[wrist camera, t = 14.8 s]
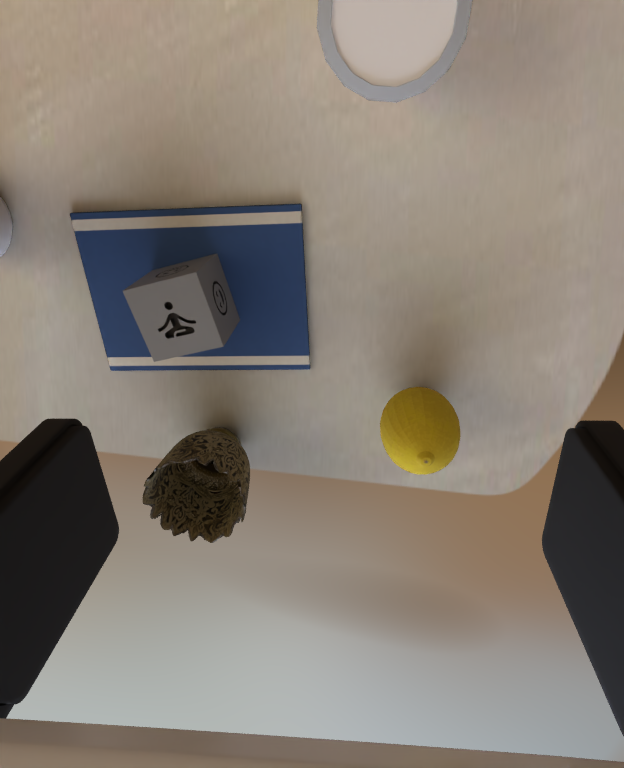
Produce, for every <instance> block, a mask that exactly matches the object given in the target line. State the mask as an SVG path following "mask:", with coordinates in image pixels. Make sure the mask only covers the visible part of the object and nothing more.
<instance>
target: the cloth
mask: <svg viewBox="0 0 624 768" xmlns="http://www.w3.org/2000/svg"><path fill="white" fill-rule="evenodd" d="M70 217H71V221H72V225H73V229H74V232H75V236H76V240H77V244H78V247H79V251H80V255H81V259H82V263H83V267H84V270H85V274H86V278H87V282H88V286H89V289H90V293H91V297H92V301H93V305H94V309H95V312H96V316H97V320H98V324H99V328H100V331H101V335H102V339H103V343H104V347H105V351H106V354H107V358H108V362H109V366H110V370H111V371H130V370H288V369H310V352H309V334H308V315H307V297H306V279H305V260H304V242H303V224H302V205H301V204H280V205H254V206H229V207H204V208H178V209H153V210H128V211H102V212H77V213H70ZM213 254H218V257H219V260H220V263H221V266H222V269H223V272H224V275H225V278H226V280H227V283H228V286H229V289H230V292H231V295H232V298H233V301H234V304H235V306H236V309H237V312H238V315H239V318H240V321H239V323H238V324H237V326H236V327H235V329H234V331H233V332H232V334H231V335H230V337H229V339H228V340H227V342H226V344H225V345H224V347H220V348H215V349H210V350H206V351H201V352H197V353H192V354H188V355H183V356H179V357H174V358H170V359H165V360H161V361H156V362H154V361H153V358H152V356H151V354H150V352H149V349H148V347H147V345H146V343H145V340H144V338H143V336H142V334H141V332H140V329H139V327H138V325H137V323H136V320H135V318H134V316H133V314H132V311H131V309H130V307H129V305H128V302H127V300H126V298H125V296H124V293H123V290H124V289H126V288H127V287H129V286H130V285H132V284H133V283H135V282H136V281H138V280H139V279H140V278H142V277H143V276H145V275H146V274H148V273H149V272H151V271H152V270H155V269H159V268H163V267H167V266H171V265H175V264H178V263H182V262H186V261H190V260H194V259H198V258H201V257H205V256H209V255H213Z"/></svg>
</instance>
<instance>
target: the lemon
mask: <svg viewBox="0 0 624 768" xmlns="http://www.w3.org/2000/svg"><path fill="white" fill-rule="evenodd" d="M380 432H381V439H382V442H383V445H384V447H385V450H386V452H387V453H388V455H389V456H390V458H391V459H392V460H393V462H394V463H395V464H397V465H398V466H399V467H400V468H402V469H404V470H406V471H408V472H410V473H415V474H430V473H434V472H437V471H439V470H441V469H443V468H444V467H446V466H447V465H448V464H449V463H450V462H451V461H452V459H453V458H454V456H455V454H456V452H457V450H458V446H459V441H460V426H459V420H458V417H457V415H456V412H455V410H454V408H453V406H452V405H451V404H450V403H449V401H448V400H447V399H446V398H445V397H444V396H443V395H441V394H440V393H438V392H437V391H435V390H432V389H429V388H424V387H413V388H408V389H405V390H402V391H400V392H399V393H397V394H395V395H394V396H393V397H392V398H391V399H390V400H389V401H388V403H387V405H386V406H385V408H384V410H383V413H382V417H381V421H380Z"/></svg>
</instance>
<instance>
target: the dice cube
mask: <svg viewBox="0 0 624 768" xmlns="http://www.w3.org/2000/svg"><path fill="white" fill-rule="evenodd" d="M123 293H124V296H125V298H126V300H127V302H128V305H129V307H130V309H131V311H132V314H133V316H134V318H135V320H136V323H137V325H138V327H139V329H140V332H141V334H142V336H143V338H144V340H145V343H146V345H147V347H148V349H149V352H150V354H151V356H152V358H153V361H154V362H156V361H161V360H165V359H170V358H174V357H179V356H183V355H188V354H192V353H197V352H201V351H206V350H210V349H215V348H220V347H224V345H225V344H226V342H227V340H228V339H229V337H230V335H231V334H232V332H233V331H234V329H235V327H236V326H237V324H238V323H239V321H240V318H239V315H238V312H237V309H236V306H235V304H234V301H233V298H232V295H231V292H230V289H229V286H228V283H227V280H226V278H225V275H224V272H223V269H222V266H221V263H220V260H219V257H218V254H213V255H209V256H205V257H201V258H198V259H194V260H190V261H186V262H182V263H178V264H175V265H171V266H167V267H163V268H159V269H155V270H152V271H151V272H149V273H148V274H146V275H145V276H143V277H142V278H140V279H139V280H138V281H136V282H135V283H133V284H132V285H130V286H129V287H127V288H126V289H124V290H123Z"/></svg>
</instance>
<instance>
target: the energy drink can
mask: <svg viewBox="0 0 624 768" xmlns="http://www.w3.org/2000/svg"><path fill="white" fill-rule="evenodd" d="M12 231H13V224H12V218H11V214H10V212H9V209H8V207H7V206H6V204H5V202H4V201H3V199H2V198H1V197H0V257H1V256H2V255H3V254H4V253H5V252H6V251H7V249H8V247H9V245H10V242H11V237H12Z"/></svg>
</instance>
